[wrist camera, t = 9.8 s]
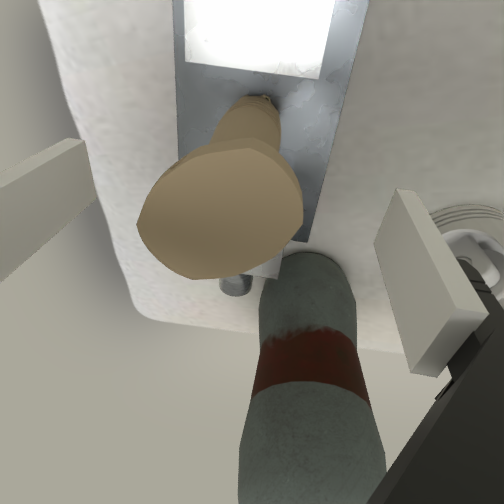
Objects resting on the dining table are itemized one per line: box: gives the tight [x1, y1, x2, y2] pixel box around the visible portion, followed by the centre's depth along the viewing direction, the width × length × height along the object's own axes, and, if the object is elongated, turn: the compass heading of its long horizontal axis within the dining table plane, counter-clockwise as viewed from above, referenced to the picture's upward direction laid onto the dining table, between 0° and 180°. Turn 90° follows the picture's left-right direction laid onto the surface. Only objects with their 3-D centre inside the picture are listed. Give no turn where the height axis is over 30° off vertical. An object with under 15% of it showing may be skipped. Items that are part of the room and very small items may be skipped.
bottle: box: [238, 253, 387, 504], centre depth 22 cm, size 9×9×30 cm
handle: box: [136, 94, 303, 280], centre depth 18 cm, size 5×6×15 cm
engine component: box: [430, 205, 504, 309], centre depth 22 cm, size 11×20×10 cm
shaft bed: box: [172, 0, 369, 296], centre depth 22 cm, size 12×28×7 cm, turn 174°
